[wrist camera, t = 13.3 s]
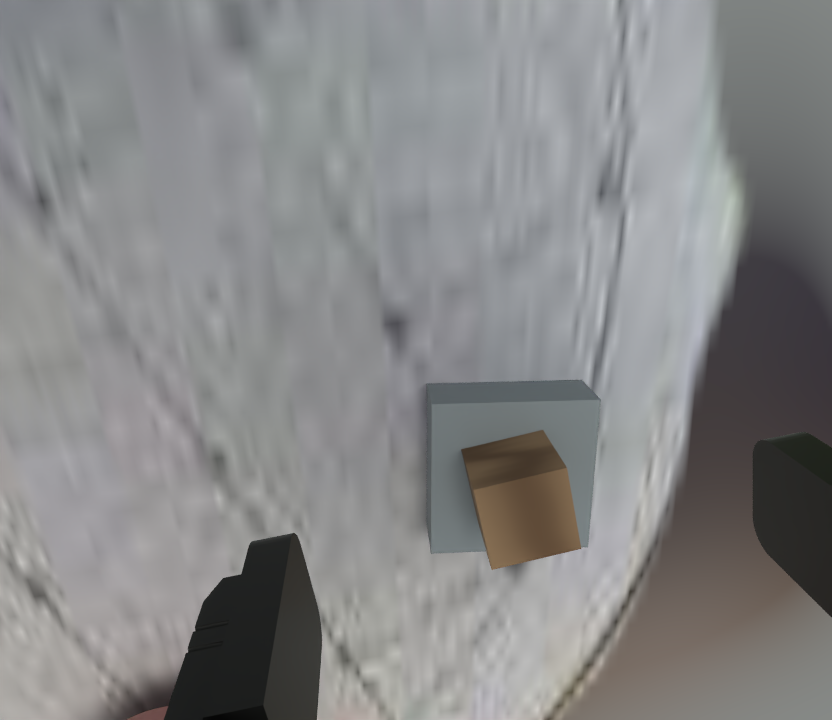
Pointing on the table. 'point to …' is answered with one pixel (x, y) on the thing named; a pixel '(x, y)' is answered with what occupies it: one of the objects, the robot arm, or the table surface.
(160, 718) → the balloon
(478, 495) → the walnut block
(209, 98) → the table surface
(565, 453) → the slate base block
